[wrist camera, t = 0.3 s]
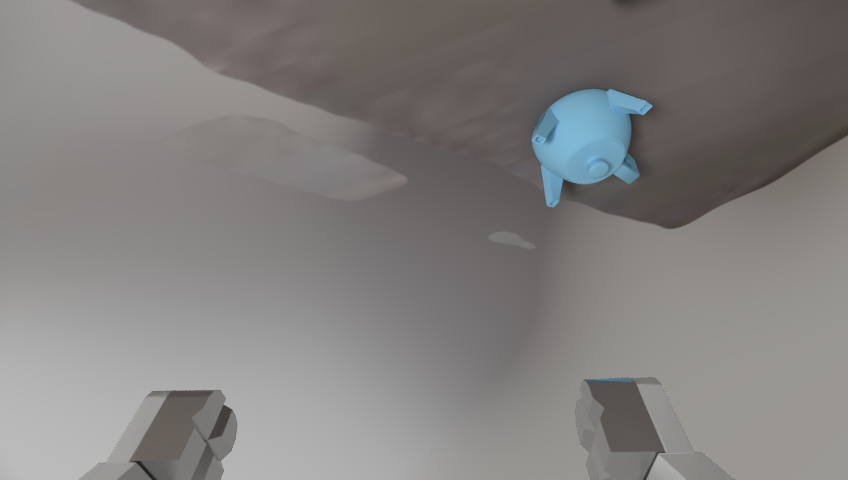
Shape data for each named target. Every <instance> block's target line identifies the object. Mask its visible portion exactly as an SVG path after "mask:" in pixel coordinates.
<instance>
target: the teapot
mask: <svg viewBox="0 0 848 480" xmlns="http://www.w3.org/2000/svg"><path fill="white" fill-rule="evenodd" d="M651 107H652V105H651V104H650V103H648V102H647V101H644V100H641V99H638V98H636V97H633V96H630V95H627V94H624V93H621V92H618V91H615V90H612V89H609V90H608V91H606V90H602V89H586V90H580V91H576V92H573V93H570V94H568V95H566V96H564V97H562V98H560V99H559V100H557V101H556V102H555V103H553V104H552V105H551V106H550V107H549V108H548V109H547V110H546V111H545V112H544V113H543V115H542V116H541V117H540V119H539V120H538V122H537V124H536V126H535V129H534V132H533V137H532V140H531V141H532V146H533V150H534V152H535V154H536V156H537V158H538V159H539V161H540V162H541V164H542V165H541V171H542V177H543V184H544V190H545V197H546V203H547V206H550V207H554V206H555V205H556V204H557V203H558V202H559V197H560V193H561V188H562V183H563V179H565V180H567V181H570V182H573V183H577V184H591V183H595V182H598V181H601V180H603V179H605V178H607V177H608V176H610V175H611V174H614V175H615V176H617V177H619V178H620V179H622V180H623V181H625V182H626V183H628V184H631V183H632V182H633V181H634V180H635V179H637V178H638V177H639V176H640V175H639V172H638V169H637V165H636V162H635V160H634V159H633V158H632V157H631V156H630V155H629V154H628V153H627V150H628V147H629V144H630V139H631V120H630V116H629V114H641V115H644V114H645V113H646V112H647V111H648V110H649V109H650V108H651Z"/></svg>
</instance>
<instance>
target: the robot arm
mask: <svg viewBox="0 0 848 480" xmlns="http://www.w3.org/2000/svg"><path fill="white" fill-rule="evenodd" d="M580 392H581V395H582V398H581V399H579V400H578V401H577V404H576V410H575V414H576V427H577V432H578V436H579V440H580V444H581V445H582V446H583V447H584V448H585V449H586V450H587V451H588V452H589V456H588V460H587V464H586V466H587V469H588V473H589V476H590V480H735V479H733V478H732V477H731V476H730V475H728V474H727V473H726V472H725V471H724V470H723V469H721V468H720V467H719V466H718V465H717V464H715V463H714V462H713V461H711V459H710V458H708V457H707V456H706V455H705V454H703V453H702V452H694V450H693V448H692V446H691V444H690V442H689V440H688V438H687V436H686V434H685V432H684V430H683V428H682V426H681V424H680V422H679V420H678V417H677V416H676V413H675V412H674V409H673V407H672V405H671V403H670V401H669V399H668V397H667V395H666V393H665V391H664V389H663V387H662V385H661V383H660V382H659V381H658V380H657V379H656V378H653V377H648V378H609V379H589V380H588V379H587V380H583V381H582V382H581V387H580ZM225 399H226V398H225V396H224V395H223V393H222V392H221V391H220V390H194V391H176V390H175V391H152V392H151V393H150V394H149V395H148V396H146V397H145V398H144V400H143V401H142V403H141V405H140V406H139V408H138V410H137V411H136V413H135V415H134V417H133V418H132V420H131V422H130V423H129V425H128V426H127V428H126V430H125V431H124V433H123V435H122V436H121V438H120V440H119V441H118V443H117V445H116V446H115V448H114V450H113V452H112V453H111V455H110V456H109V458H108V460H107V461H106V463H98V464H97V465H96V466H95V467H94V468H92V469H91V470H90V471H89V472H87V473H86V474H85V475H84V476H82V477H81V478H80V479H79V480H221V477H222V474H223V472H224V469H223V466H222V463H221V460H222V459H223V458H224V457H225V456H226V455H228V454H229V453H230V452H231V450H232V448H233V445H234V442H235V439H236V432H237V420H236V416H235V414H234V412H233V410H232V409H230V408H228V407H227V406H225V405H223V404H224V402H225Z"/></svg>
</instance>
